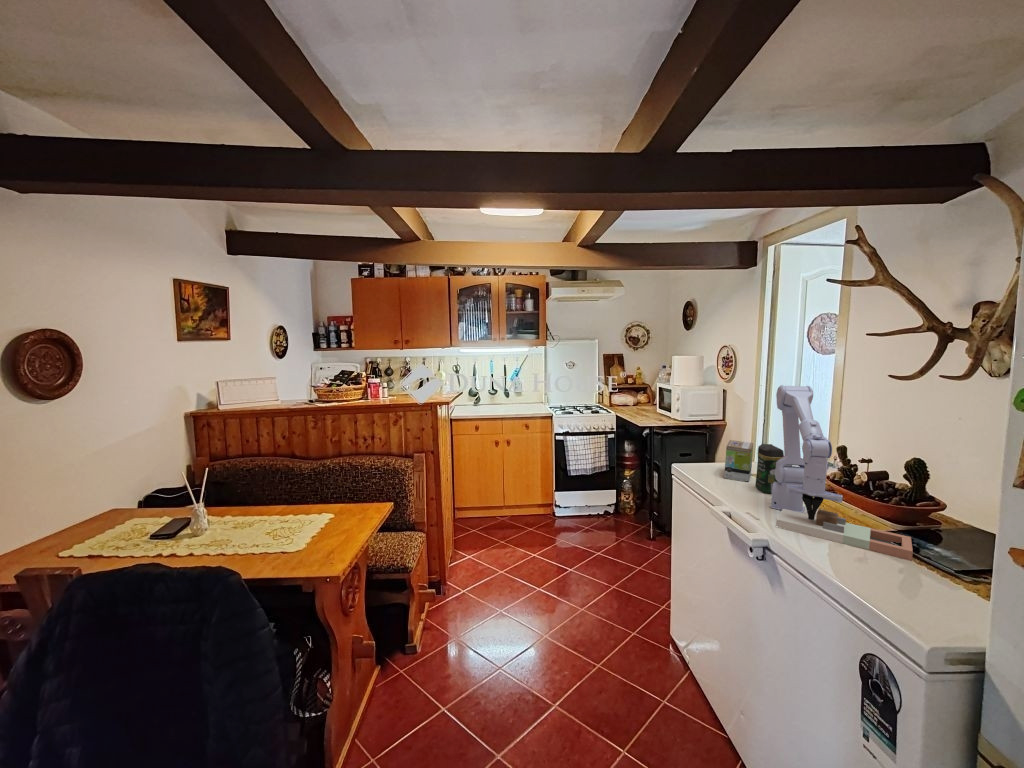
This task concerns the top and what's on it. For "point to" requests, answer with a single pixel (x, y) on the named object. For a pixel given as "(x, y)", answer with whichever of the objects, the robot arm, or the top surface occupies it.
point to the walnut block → (826, 517)
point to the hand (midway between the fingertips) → (811, 518)
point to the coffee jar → (767, 466)
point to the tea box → (738, 460)
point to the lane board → (847, 534)
